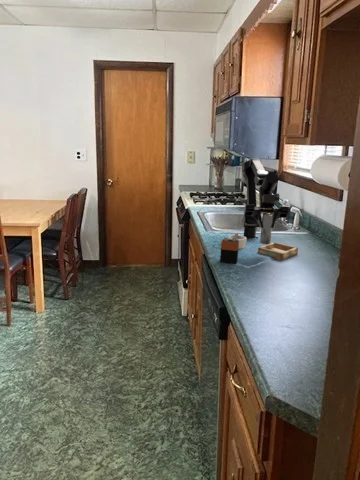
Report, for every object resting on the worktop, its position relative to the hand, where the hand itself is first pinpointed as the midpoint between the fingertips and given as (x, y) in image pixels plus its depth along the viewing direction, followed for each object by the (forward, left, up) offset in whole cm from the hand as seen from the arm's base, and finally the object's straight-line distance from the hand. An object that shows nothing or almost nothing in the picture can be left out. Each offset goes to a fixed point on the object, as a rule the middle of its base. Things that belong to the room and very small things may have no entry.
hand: (267, 227), depth 172 cm
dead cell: (-3, -17, -12) cm, 21 cm away
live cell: (-1, -1, -7) cm, 7 cm away
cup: (-3, -17, -13) cm, 22 cm away
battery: (+17, -7, -13) cm, 23 cm away
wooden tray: (-9, +1, -13) cm, 16 cm away
